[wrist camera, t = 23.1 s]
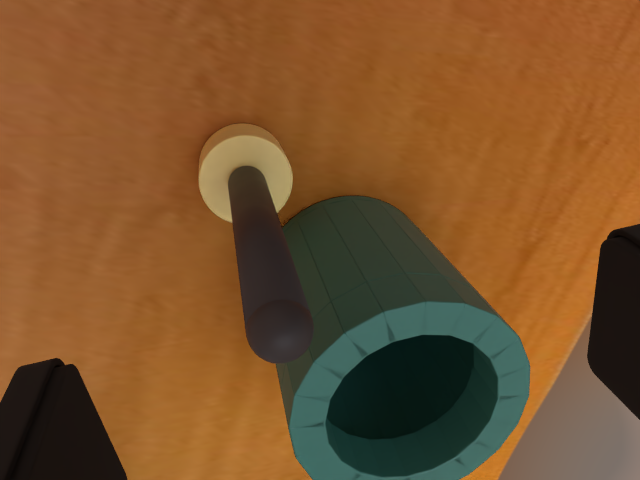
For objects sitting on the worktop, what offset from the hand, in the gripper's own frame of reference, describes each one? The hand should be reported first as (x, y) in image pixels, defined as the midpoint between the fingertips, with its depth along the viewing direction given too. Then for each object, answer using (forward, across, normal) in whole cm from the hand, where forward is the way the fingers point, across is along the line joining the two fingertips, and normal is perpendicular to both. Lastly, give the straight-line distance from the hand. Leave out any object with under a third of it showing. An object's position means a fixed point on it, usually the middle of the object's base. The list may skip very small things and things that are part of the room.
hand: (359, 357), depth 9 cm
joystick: (+23, +1, +4) cm, 23 cm away
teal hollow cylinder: (+22, -4, +12) cm, 26 cm away
